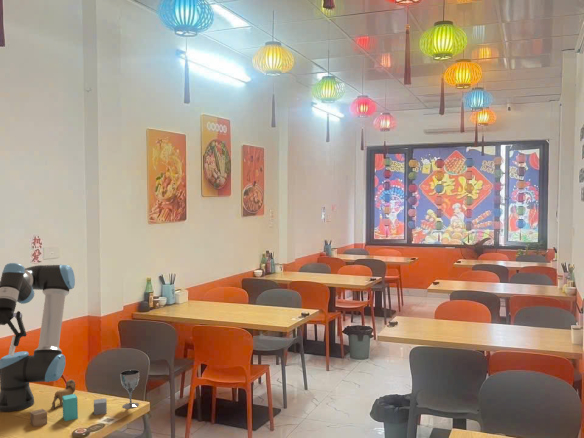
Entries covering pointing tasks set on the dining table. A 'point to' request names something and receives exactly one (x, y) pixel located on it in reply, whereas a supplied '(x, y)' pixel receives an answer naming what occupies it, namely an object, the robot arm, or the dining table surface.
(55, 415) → the dining table surface
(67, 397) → the teal block
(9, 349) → the robot arm
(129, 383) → the wine glass
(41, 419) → the walnut block
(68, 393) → the lion figurine
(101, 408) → the grey block
